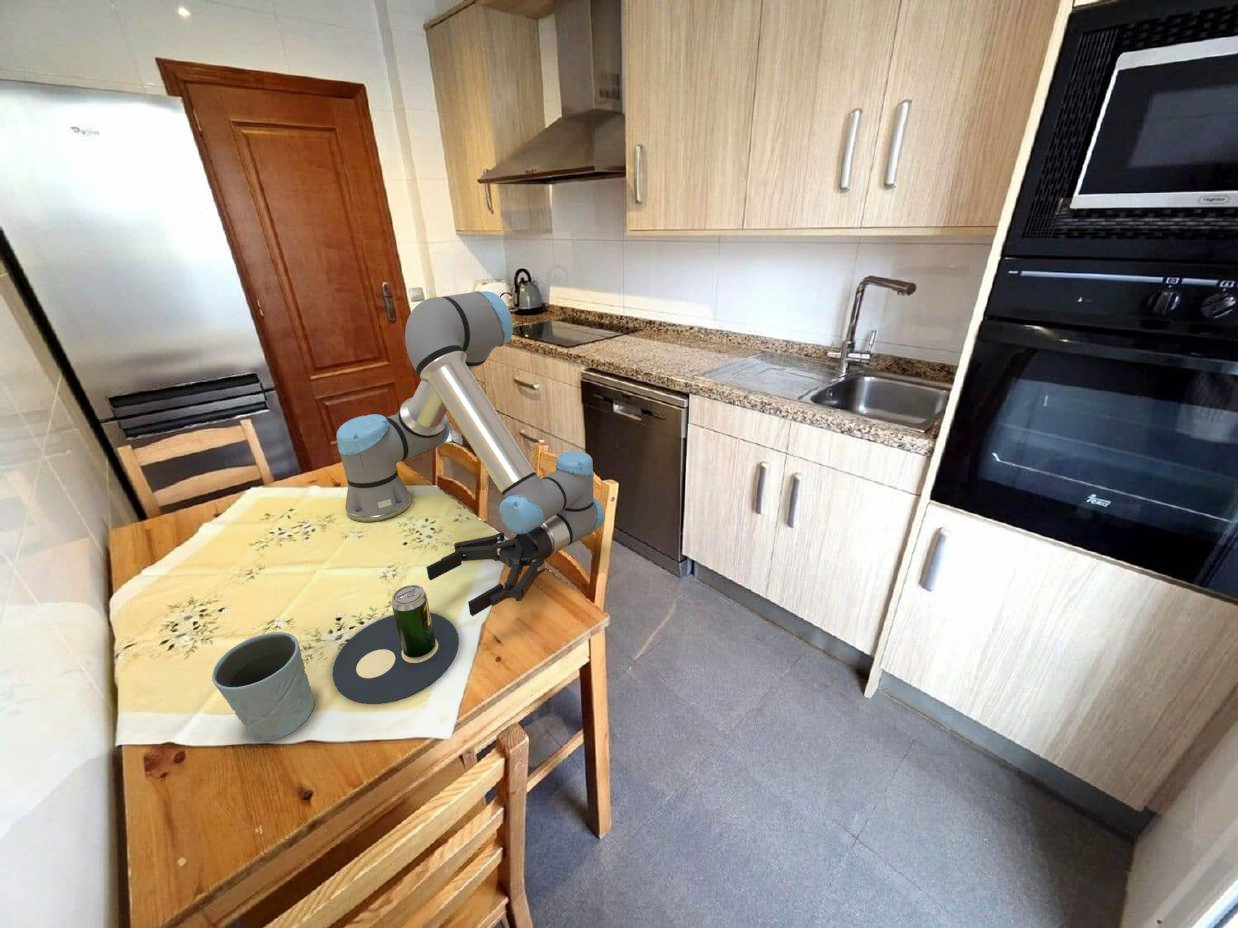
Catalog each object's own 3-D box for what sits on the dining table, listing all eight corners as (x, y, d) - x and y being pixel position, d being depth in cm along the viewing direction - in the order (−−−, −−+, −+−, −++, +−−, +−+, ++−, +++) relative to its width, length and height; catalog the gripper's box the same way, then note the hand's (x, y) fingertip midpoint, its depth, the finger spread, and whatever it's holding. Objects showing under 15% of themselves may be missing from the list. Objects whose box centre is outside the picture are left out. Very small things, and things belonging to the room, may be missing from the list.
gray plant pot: (333, 701, 78) (314, 644, 72) (269, 759, 69) (242, 699, 64) (289, 679, 81) (267, 623, 76) (223, 731, 73) (194, 672, 68)
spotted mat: (332, 634, 90) (332, 632, 90) (447, 600, 99) (446, 598, 98) (333, 723, 74) (332, 722, 74) (469, 674, 83) (469, 672, 82)
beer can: (407, 665, 84) (394, 610, 78) (400, 645, 88) (387, 591, 82) (440, 652, 86) (429, 598, 81) (431, 632, 90) (421, 579, 85)
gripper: (585, 581, 96) (492, 643, 82) (506, 531, 111) (416, 576, 97) (584, 549, 93) (487, 607, 79) (503, 502, 108) (409, 544, 94)
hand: (448, 590), depth 88 cm, fingers open, 13 cm apart
